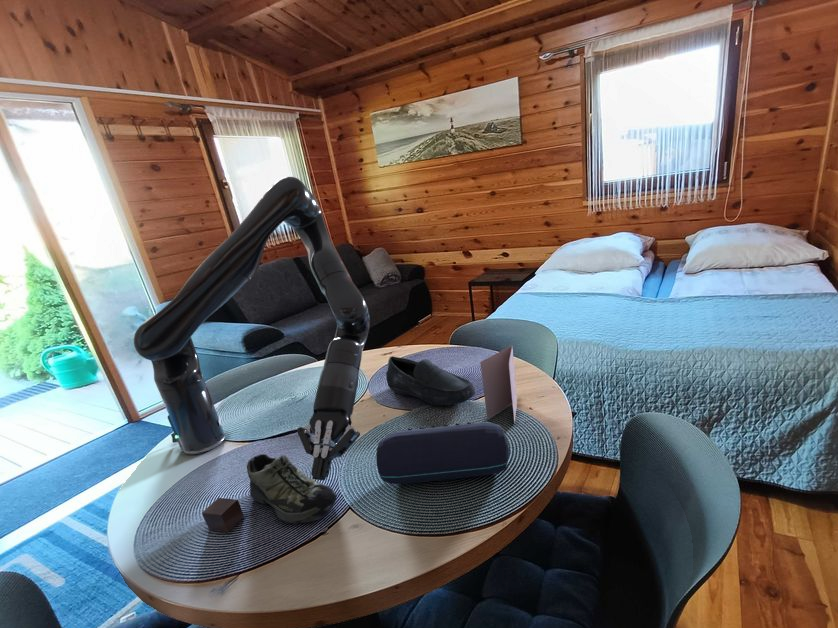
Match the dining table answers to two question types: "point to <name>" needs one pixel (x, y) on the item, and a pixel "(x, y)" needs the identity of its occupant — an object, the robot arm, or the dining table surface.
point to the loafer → (427, 382)
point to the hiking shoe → (288, 490)
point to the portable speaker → (442, 453)
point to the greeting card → (499, 382)
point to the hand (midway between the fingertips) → (318, 479)
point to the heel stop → (223, 514)
